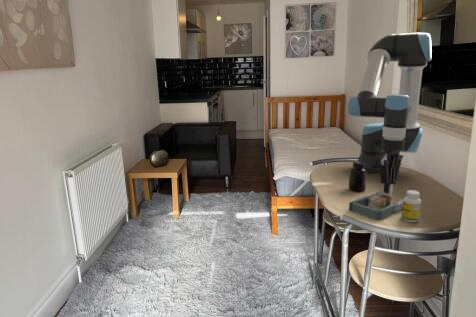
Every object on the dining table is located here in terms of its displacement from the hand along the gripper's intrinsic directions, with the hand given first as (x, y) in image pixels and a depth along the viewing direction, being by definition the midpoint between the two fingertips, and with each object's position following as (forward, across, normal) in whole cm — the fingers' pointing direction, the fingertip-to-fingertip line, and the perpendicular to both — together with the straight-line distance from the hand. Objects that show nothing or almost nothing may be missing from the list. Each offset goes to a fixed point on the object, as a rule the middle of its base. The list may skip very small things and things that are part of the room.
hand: (387, 200), depth 134 cm
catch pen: (+2, +10, 0) cm, 10 cm away
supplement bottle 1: (+2, -7, -17) cm, 19 cm away
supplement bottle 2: (+2, +6, +12) cm, 14 cm away
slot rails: (+2, -1, 0) cm, 2 cm away
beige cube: (+2, +7, 0) cm, 7 cm away
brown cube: (+2, +3, 0) cm, 3 cm away
